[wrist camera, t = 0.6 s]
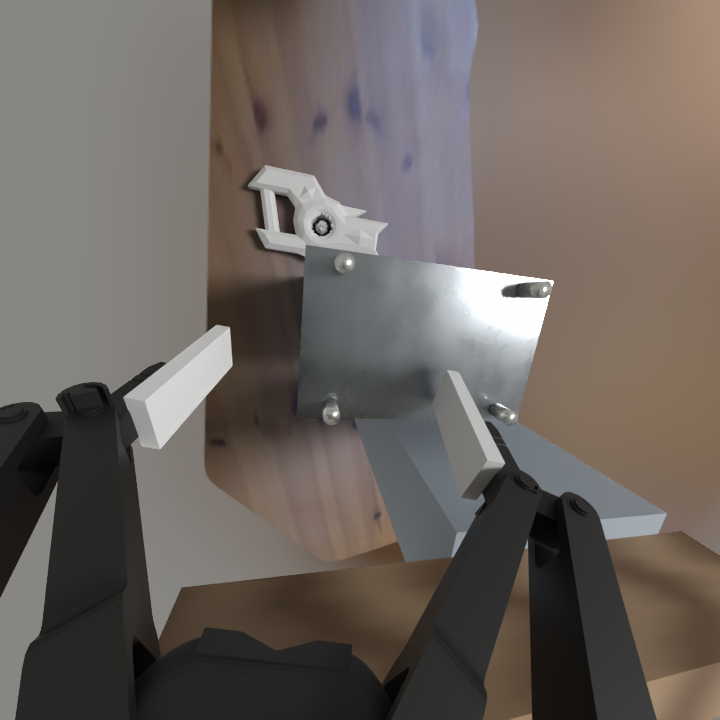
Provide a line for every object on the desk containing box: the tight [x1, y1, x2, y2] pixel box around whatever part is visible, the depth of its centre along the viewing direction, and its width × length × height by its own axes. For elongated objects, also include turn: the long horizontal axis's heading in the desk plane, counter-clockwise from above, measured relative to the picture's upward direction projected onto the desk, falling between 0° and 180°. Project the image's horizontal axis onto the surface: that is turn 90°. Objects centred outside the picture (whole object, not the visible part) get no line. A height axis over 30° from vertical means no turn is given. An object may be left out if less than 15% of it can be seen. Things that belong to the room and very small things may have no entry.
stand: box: [354, 418, 667, 562], centre depth 29 cm, size 7×14×30 cm, turn 84°
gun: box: [247, 165, 388, 257], centre depth 34 cm, size 18×3×10 cm
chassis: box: [297, 245, 553, 426], centre depth 27 cm, size 10×16×26 cm, turn 84°
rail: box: [159, 531, 720, 720], centre depth 11 cm, size 28×4×5 cm, turn 84°
